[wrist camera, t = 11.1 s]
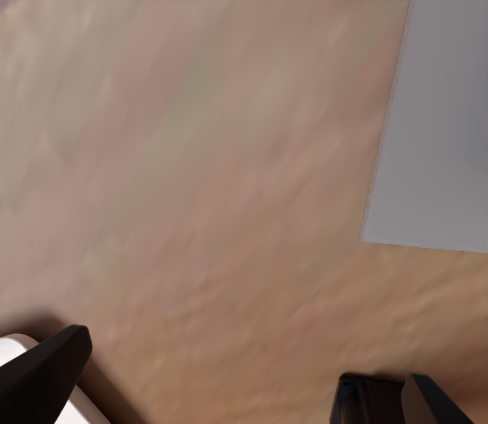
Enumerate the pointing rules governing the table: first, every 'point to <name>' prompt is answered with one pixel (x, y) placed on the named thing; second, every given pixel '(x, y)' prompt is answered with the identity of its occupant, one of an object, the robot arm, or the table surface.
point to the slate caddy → (435, 134)
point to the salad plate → (78, 405)
